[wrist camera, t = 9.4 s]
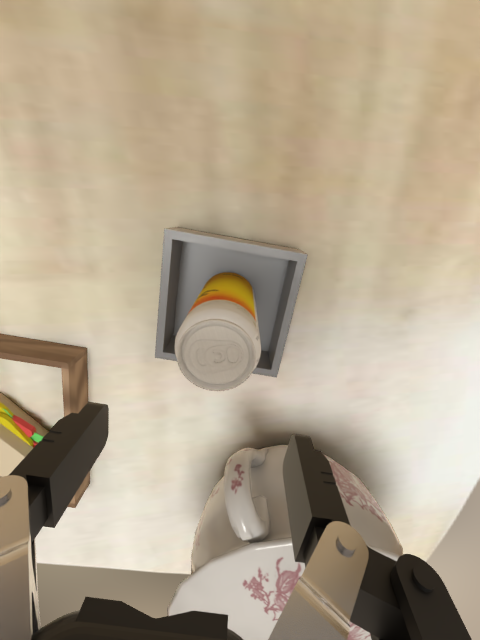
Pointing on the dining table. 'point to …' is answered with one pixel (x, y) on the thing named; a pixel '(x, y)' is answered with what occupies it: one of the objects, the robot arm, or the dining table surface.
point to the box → (236, 257)
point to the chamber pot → (264, 543)
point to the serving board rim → (72, 374)
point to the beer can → (220, 334)
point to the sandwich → (16, 435)
